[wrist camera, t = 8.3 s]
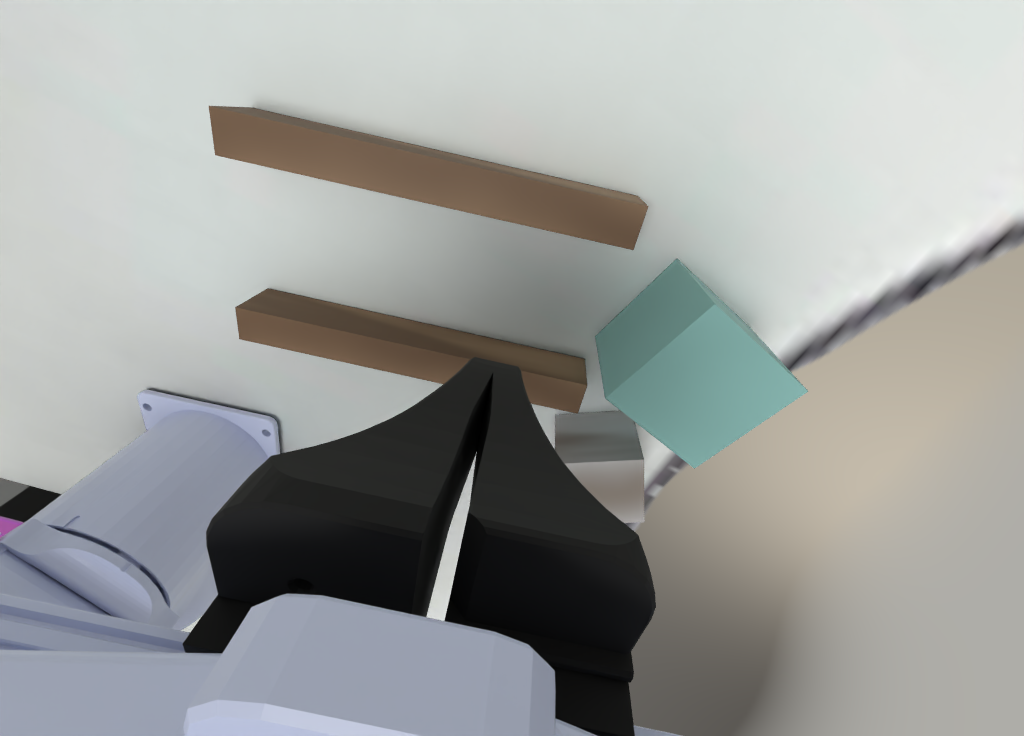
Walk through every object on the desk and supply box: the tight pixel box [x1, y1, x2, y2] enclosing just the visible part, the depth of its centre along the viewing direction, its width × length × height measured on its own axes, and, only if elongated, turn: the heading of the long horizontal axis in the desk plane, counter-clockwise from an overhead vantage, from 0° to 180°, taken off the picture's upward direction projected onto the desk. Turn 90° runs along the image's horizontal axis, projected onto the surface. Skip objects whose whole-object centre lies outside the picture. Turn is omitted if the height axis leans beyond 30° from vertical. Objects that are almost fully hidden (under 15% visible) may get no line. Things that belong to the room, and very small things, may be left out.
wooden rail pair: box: [209, 106, 648, 414], centre depth 19 cm, size 9×16×2 cm, turn 79°
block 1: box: [555, 410, 644, 523], centre depth 23 cm, size 4×4×4 cm
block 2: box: [595, 259, 808, 468], centre depth 18 cm, size 5×5×6 cm
